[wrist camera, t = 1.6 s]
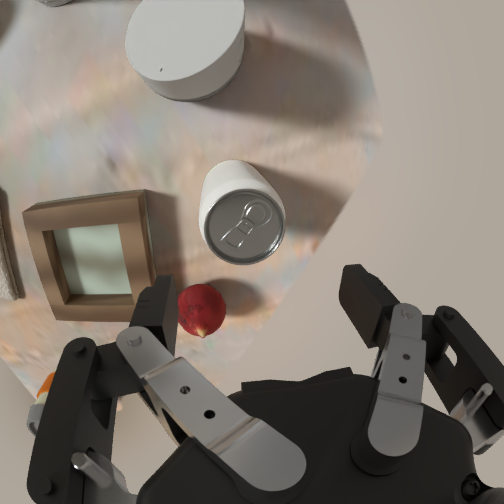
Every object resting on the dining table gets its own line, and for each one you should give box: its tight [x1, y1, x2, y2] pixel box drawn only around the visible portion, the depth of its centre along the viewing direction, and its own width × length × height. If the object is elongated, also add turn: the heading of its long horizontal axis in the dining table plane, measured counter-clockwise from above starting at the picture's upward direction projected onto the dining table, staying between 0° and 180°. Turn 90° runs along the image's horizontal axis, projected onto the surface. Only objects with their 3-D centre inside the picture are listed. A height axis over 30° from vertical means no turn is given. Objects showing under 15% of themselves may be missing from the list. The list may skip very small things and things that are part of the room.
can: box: [199, 160, 285, 265], centre depth 25 cm, size 6×6×12 cm
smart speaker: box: [125, 0, 245, 102], centre depth 17 cm, size 10×9×14 cm
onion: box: [177, 284, 226, 338], centre depth 32 cm, size 6×6×8 cm
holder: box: [22, 189, 157, 322], centre depth 30 cm, size 15×15×4 cm
